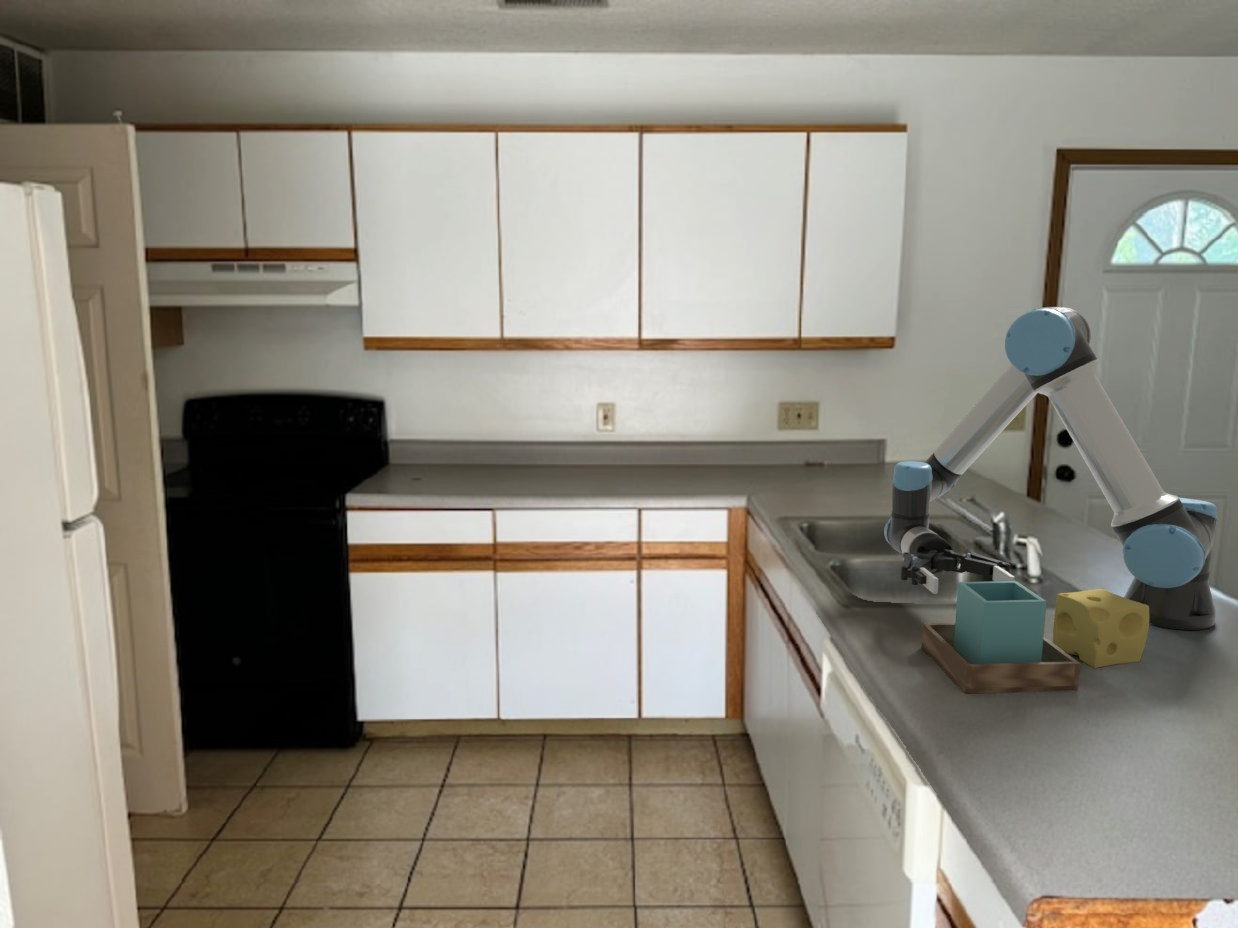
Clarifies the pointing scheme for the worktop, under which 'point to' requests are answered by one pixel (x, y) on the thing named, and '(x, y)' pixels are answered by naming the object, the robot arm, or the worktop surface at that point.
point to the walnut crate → (1000, 666)
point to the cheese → (1100, 627)
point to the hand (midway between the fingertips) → (974, 585)
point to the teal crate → (999, 623)
